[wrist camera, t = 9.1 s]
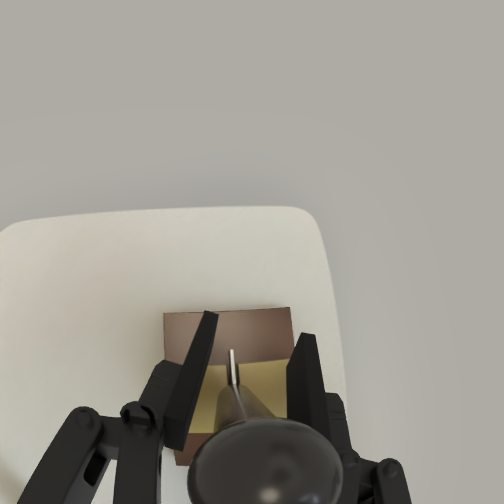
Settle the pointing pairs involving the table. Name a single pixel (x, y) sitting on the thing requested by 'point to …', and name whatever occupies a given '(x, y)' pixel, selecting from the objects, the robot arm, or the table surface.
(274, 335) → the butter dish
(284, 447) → the knife
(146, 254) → the table surface
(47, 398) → the table surface
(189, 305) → the table surface
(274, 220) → the table surface
